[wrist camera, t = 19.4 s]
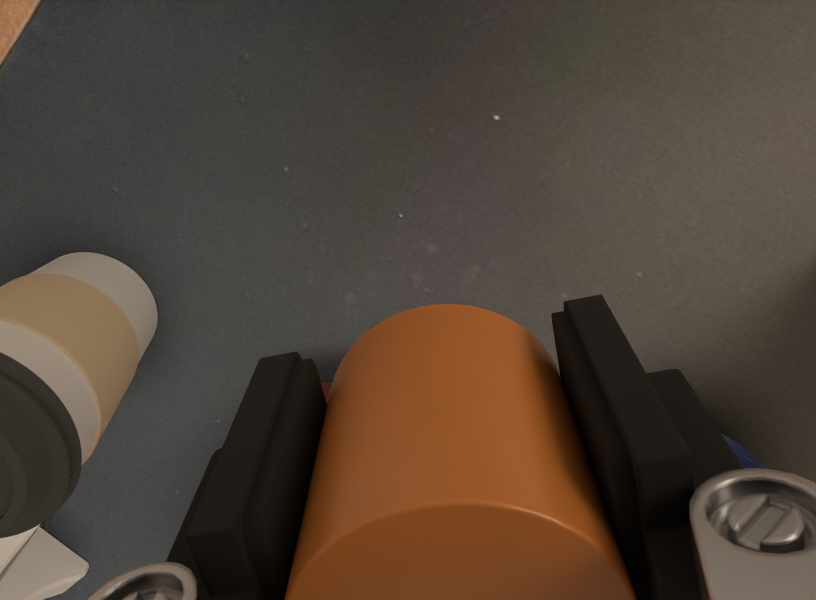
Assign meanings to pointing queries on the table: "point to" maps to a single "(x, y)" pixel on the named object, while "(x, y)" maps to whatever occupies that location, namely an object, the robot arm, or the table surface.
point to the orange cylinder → (453, 472)
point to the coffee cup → (63, 375)
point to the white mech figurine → (37, 566)
